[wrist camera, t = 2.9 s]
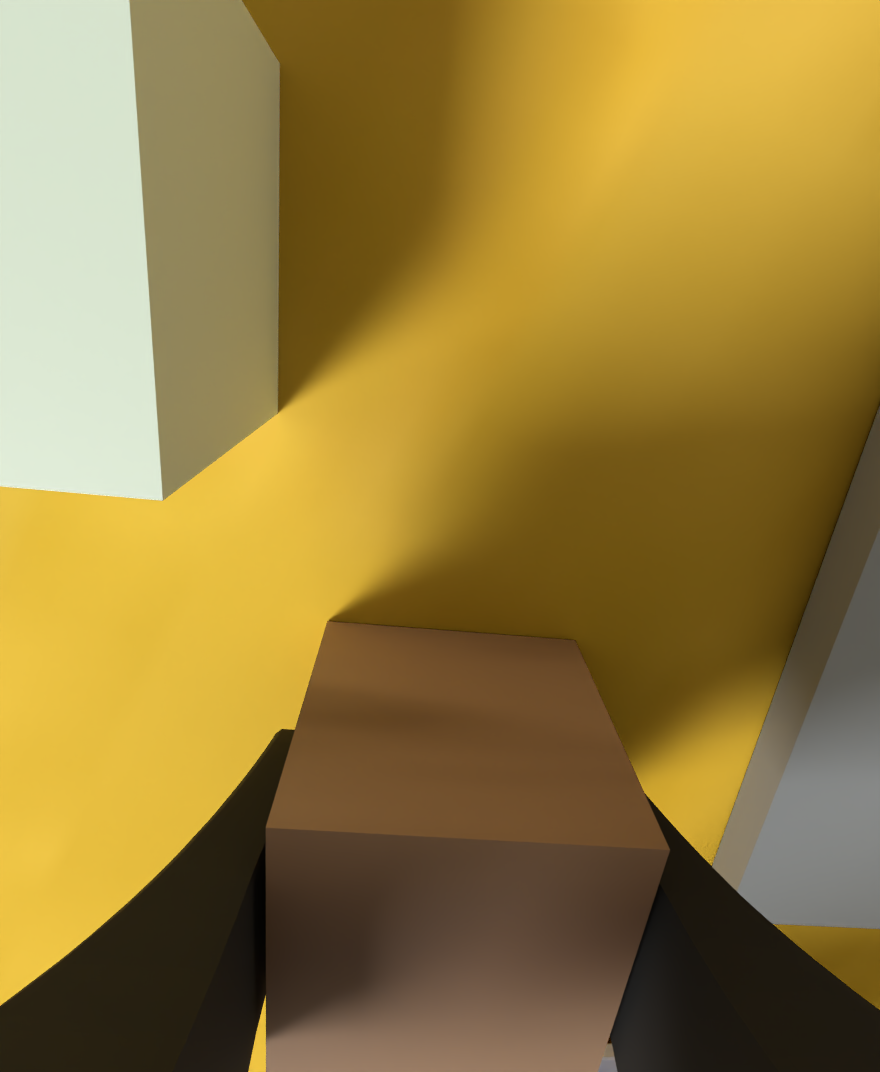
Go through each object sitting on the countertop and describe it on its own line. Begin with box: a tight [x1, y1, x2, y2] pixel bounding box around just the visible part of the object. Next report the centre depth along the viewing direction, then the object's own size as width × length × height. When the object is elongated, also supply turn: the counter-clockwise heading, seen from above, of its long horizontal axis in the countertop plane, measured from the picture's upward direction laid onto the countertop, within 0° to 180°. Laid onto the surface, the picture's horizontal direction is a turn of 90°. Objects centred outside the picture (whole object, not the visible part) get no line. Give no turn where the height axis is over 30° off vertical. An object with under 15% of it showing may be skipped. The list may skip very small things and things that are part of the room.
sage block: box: [0, 0, 280, 501], centre depth 7 cm, size 5×5×5 cm
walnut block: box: [266, 621, 670, 1072], centre depth 11 cm, size 5×5×5 cm
